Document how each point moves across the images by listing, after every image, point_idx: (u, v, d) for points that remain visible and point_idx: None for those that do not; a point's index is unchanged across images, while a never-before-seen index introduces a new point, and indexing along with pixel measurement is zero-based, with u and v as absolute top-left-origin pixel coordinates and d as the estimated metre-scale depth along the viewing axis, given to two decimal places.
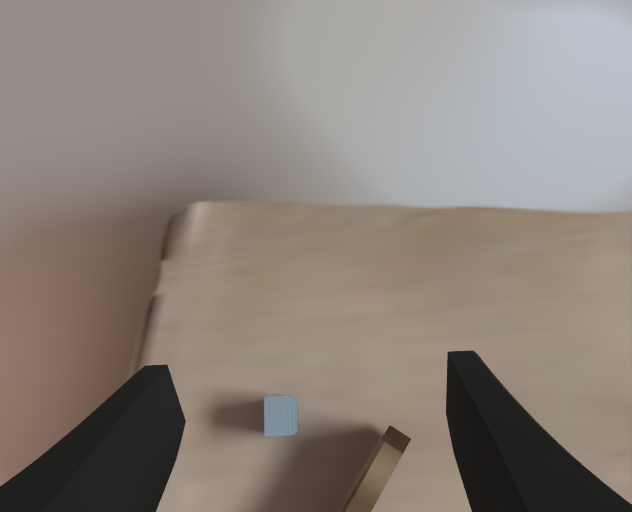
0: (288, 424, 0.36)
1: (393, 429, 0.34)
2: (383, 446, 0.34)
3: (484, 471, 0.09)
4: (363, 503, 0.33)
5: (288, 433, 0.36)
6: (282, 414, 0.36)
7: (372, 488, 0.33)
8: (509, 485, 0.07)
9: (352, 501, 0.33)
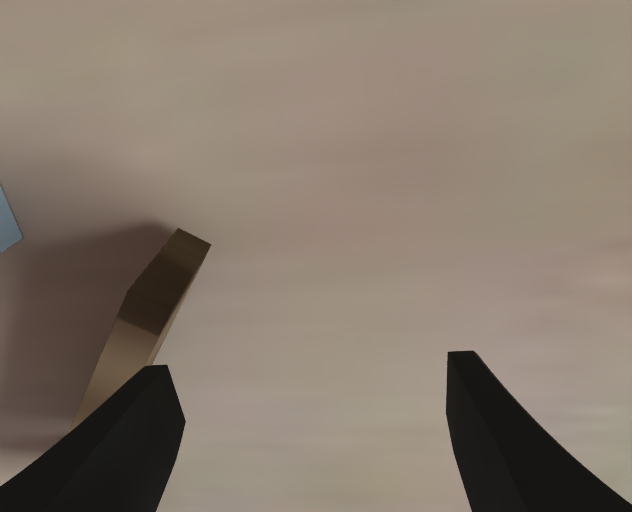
0: None
1: (129, 295, 0.15)
2: (116, 326, 0.15)
3: (484, 471, 0.09)
4: None
5: None
6: None
7: (113, 389, 0.17)
8: (509, 485, 0.07)
9: (81, 407, 0.17)
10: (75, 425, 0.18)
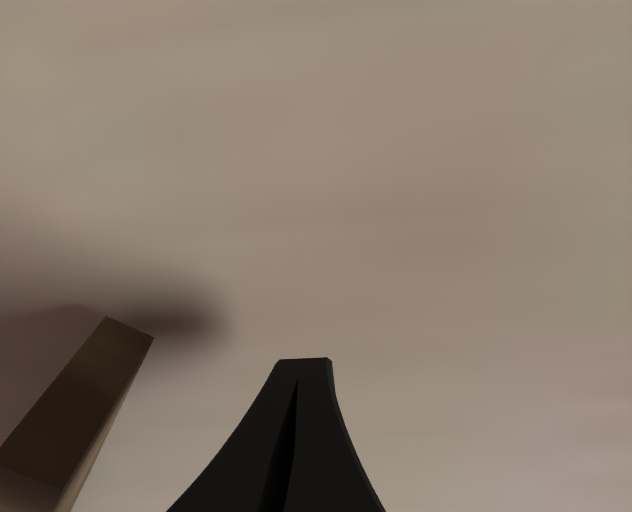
0: None
1: None
2: None
3: None
4: None
5: None
6: None
7: None
8: None
9: None
10: None
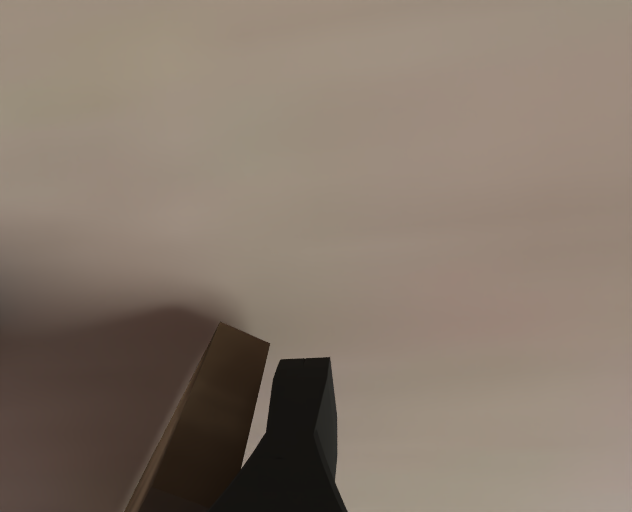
0: None
1: (155, 494, 0.08)
2: None
3: None
4: None
5: None
6: None
7: None
8: None
9: None
10: None
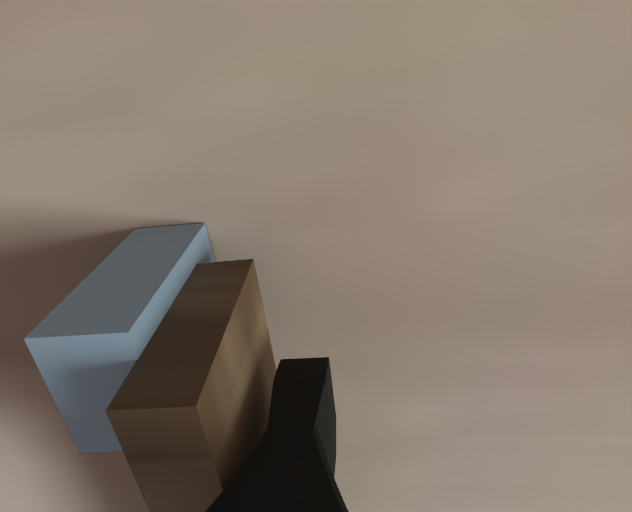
0: None
1: (114, 416, 0.07)
2: (138, 475, 0.08)
3: None
4: None
5: None
6: None
7: None
8: None
9: None
10: None
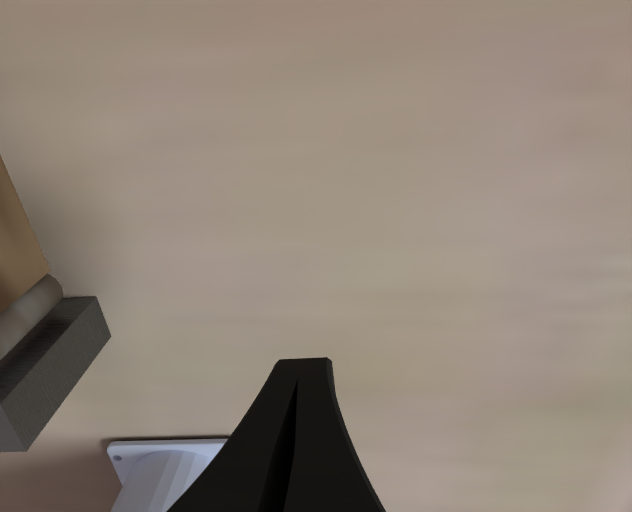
0: None
1: None
2: None
3: None
4: None
5: None
6: None
7: None
8: None
9: None
10: None
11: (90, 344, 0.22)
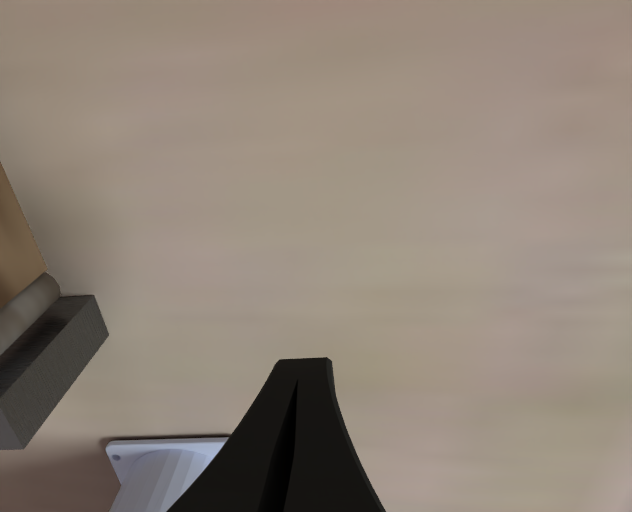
0: None
1: None
2: None
3: None
4: None
5: None
6: None
7: None
8: None
9: None
10: None
11: (88, 342, 0.22)
